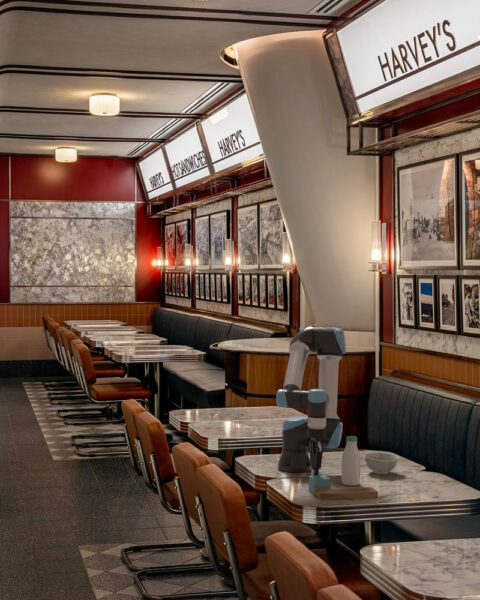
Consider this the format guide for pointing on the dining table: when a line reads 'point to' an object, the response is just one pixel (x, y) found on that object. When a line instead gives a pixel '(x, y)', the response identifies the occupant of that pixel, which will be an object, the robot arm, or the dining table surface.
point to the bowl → (381, 462)
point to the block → (319, 482)
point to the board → (345, 493)
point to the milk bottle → (351, 463)
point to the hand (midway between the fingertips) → (314, 484)
